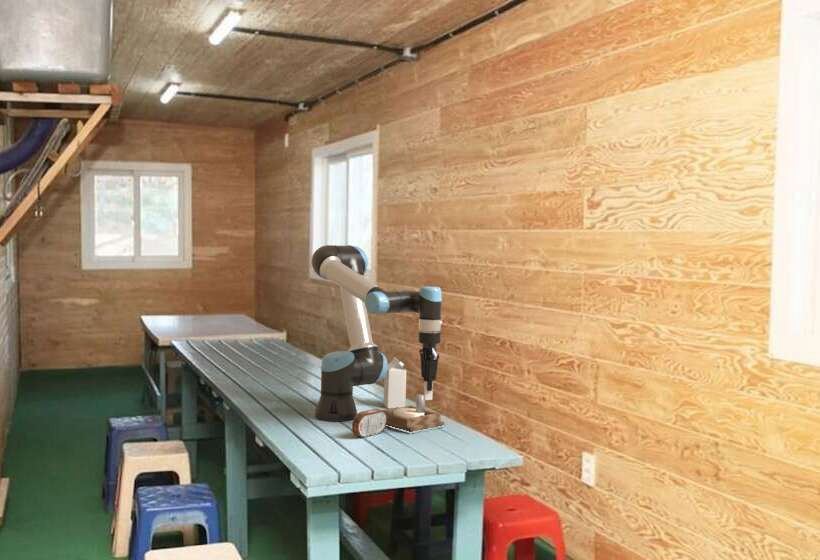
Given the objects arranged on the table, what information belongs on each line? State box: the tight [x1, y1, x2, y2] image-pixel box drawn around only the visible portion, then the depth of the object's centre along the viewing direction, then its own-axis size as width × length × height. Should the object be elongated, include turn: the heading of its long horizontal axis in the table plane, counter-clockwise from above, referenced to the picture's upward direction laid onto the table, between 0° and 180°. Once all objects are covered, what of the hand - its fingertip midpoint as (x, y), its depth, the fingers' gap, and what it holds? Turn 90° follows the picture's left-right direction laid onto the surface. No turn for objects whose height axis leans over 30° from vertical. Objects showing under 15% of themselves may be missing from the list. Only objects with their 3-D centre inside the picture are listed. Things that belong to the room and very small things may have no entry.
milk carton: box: [383, 356, 407, 409], centre depth 298 cm, size 7×7×19 cm
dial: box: [393, 394, 426, 418], centre depth 270 cm, size 11×11×8 cm
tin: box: [351, 408, 387, 438], centre depth 254 cm, size 15×3×8 cm, turn 141°
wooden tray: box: [381, 405, 445, 432], centre depth 270 cm, size 16×20×5 cm
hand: (427, 399), depth 263 cm, fingers closed
